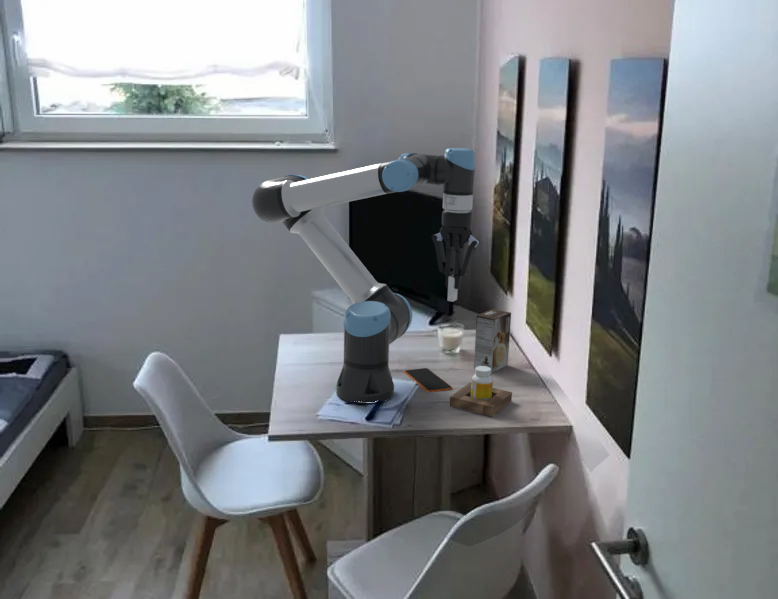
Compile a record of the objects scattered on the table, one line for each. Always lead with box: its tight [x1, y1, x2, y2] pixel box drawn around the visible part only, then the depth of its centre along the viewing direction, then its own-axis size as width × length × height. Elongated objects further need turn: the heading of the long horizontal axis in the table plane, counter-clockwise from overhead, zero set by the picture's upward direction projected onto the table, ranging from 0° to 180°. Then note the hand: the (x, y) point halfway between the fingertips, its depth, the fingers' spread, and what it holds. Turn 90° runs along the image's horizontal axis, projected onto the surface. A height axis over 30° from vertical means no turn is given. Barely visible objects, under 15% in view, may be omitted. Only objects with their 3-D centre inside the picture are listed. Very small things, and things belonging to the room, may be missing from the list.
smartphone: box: [403, 367, 454, 393], centre depth 232 cm, size 8×17×1 cm, turn 23°
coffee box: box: [473, 308, 512, 374], centre depth 241 cm, size 9×6×16 cm
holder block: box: [448, 382, 513, 417], centre depth 216 cm, size 12×12×2 cm
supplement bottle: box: [470, 366, 494, 401], centre depth 215 cm, size 5×5×10 cm
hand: (452, 300), depth 220 cm, fingers closed
